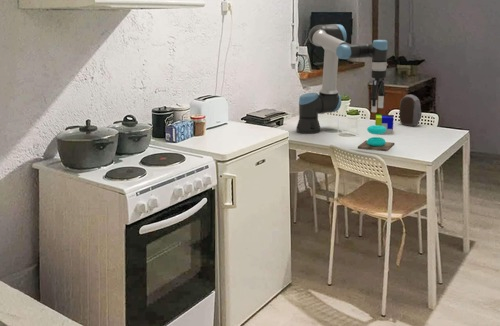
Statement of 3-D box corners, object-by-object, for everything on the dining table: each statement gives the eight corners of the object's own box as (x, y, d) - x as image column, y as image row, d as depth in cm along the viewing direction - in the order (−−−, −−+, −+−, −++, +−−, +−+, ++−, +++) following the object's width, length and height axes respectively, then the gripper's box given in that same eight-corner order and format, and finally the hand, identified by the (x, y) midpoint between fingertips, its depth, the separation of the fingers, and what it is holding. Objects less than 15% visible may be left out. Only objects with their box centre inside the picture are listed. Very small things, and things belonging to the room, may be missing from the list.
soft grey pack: (396, 124, 345) (397, 93, 339) (404, 122, 349) (406, 92, 344) (415, 127, 333) (417, 96, 327) (423, 125, 338) (425, 94, 332)
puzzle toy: (392, 134, 316) (393, 118, 313) (375, 134, 318) (376, 117, 315) (391, 130, 326) (392, 114, 323) (375, 130, 328) (375, 114, 325)
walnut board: (357, 148, 285) (357, 146, 285) (365, 142, 298) (365, 140, 298) (387, 151, 278) (387, 149, 277) (394, 144, 291) (394, 142, 291)
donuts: (387, 125, 288) (384, 129, 279) (386, 143, 290) (383, 147, 281) (369, 124, 292) (365, 127, 283) (368, 142, 294) (365, 146, 285)
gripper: (380, 72, 265) (378, 114, 271) (391, 67, 286) (389, 106, 292) (365, 72, 268) (363, 113, 274) (378, 67, 289) (376, 105, 295)
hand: (377, 110), depth 283 cm, fingers open, 13 cm apart
